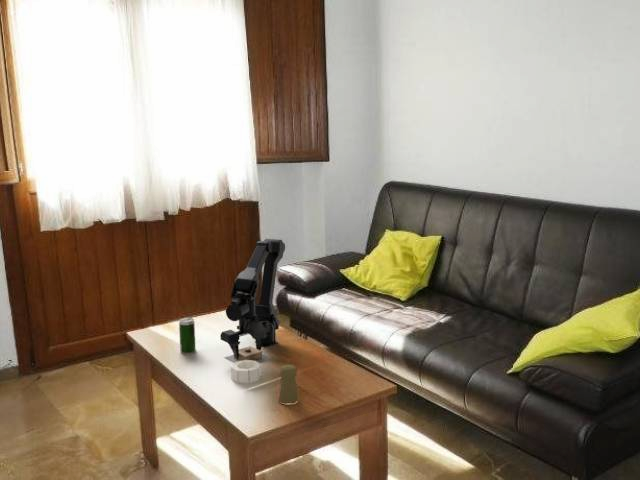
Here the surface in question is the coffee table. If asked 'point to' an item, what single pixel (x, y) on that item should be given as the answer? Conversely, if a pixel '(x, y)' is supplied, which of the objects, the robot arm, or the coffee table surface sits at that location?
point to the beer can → (187, 335)
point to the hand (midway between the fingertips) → (248, 355)
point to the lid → (249, 354)
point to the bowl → (245, 371)
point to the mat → (264, 358)
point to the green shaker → (288, 384)
